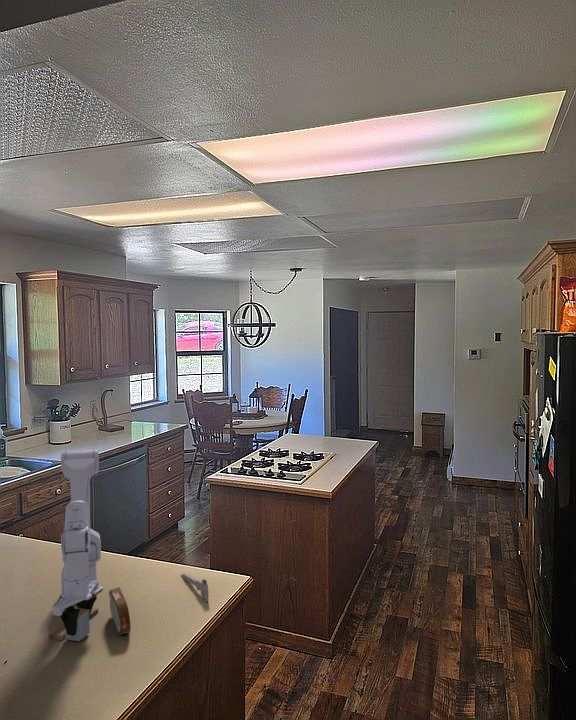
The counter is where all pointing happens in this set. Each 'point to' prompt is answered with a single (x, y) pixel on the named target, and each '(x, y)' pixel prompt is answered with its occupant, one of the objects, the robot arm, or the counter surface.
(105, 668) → the counter surface
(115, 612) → the tin
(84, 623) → the tan grey block
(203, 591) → the caliper
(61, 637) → the board
